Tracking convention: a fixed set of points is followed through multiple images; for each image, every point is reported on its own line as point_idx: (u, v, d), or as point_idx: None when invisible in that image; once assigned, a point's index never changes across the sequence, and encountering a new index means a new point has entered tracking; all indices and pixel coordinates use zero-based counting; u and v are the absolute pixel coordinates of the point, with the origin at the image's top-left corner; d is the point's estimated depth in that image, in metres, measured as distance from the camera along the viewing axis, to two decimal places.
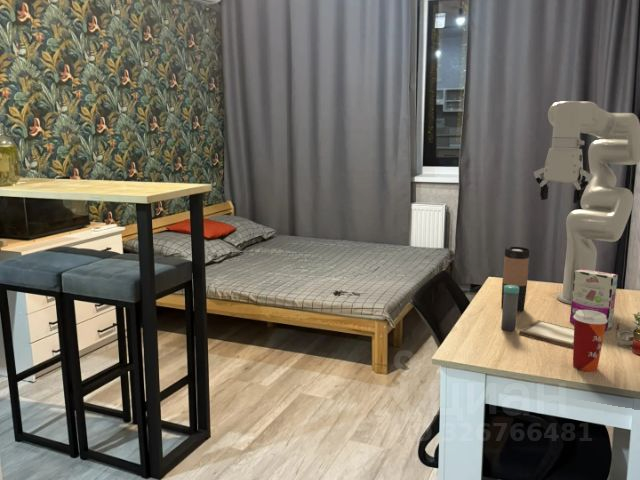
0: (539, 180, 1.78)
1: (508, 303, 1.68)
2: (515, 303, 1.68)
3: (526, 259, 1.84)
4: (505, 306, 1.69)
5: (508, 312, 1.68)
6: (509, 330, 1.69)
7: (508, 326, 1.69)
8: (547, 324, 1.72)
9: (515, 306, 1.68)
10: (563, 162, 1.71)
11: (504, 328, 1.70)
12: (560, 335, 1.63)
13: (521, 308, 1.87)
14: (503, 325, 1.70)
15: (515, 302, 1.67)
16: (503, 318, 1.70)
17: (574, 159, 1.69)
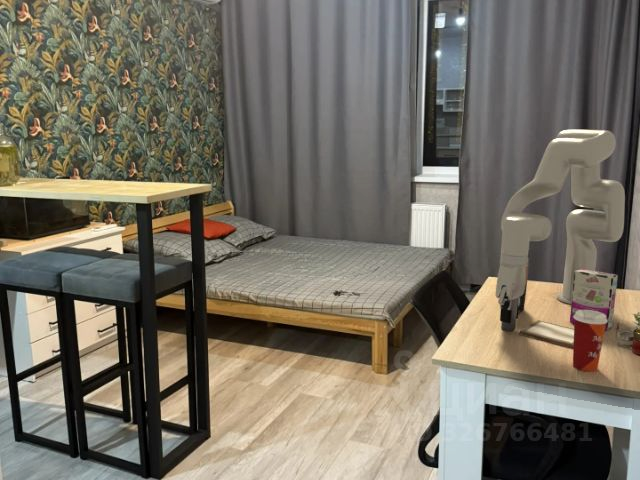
0: (507, 304, 1.66)
1: None
2: (515, 303, 1.68)
3: None
4: None
5: None
6: (509, 330, 1.69)
7: (508, 326, 1.69)
8: (547, 324, 1.72)
9: (515, 306, 1.68)
10: (521, 278, 1.67)
11: (504, 328, 1.70)
12: (560, 335, 1.63)
13: (521, 308, 1.87)
14: (503, 325, 1.70)
15: (515, 302, 1.67)
16: None
17: (525, 273, 1.69)
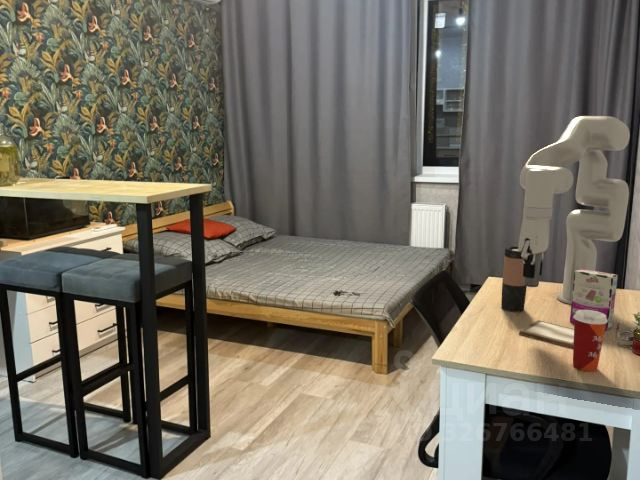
0: (530, 259, 1.62)
1: None
2: (538, 257, 1.63)
3: None
4: None
5: None
6: (532, 286, 1.65)
7: (531, 281, 1.64)
8: (547, 324, 1.72)
9: (538, 261, 1.63)
10: (545, 231, 1.62)
11: (527, 284, 1.65)
12: (560, 335, 1.63)
13: (521, 308, 1.87)
14: (526, 281, 1.66)
15: (538, 256, 1.63)
16: None
17: (549, 227, 1.65)
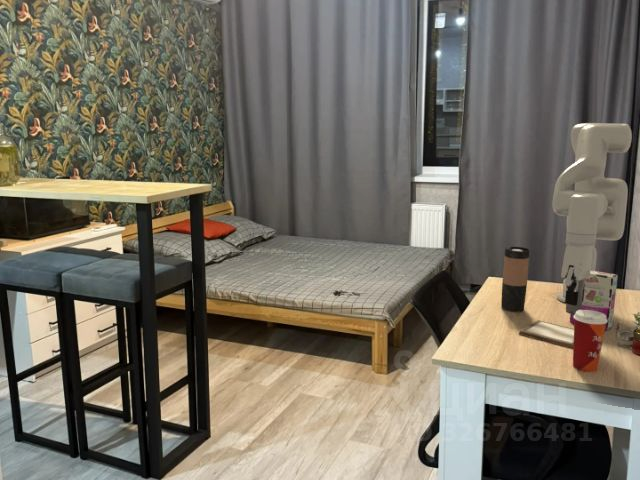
0: (574, 286, 1.59)
1: (574, 284, 1.61)
2: (581, 284, 1.61)
3: (526, 259, 1.84)
4: None
5: None
6: None
7: (574, 309, 1.62)
8: (547, 324, 1.72)
9: (581, 287, 1.61)
10: (588, 258, 1.60)
11: (569, 311, 1.63)
12: (560, 335, 1.63)
13: (521, 308, 1.87)
14: (568, 308, 1.63)
15: (581, 283, 1.60)
16: None
17: (591, 253, 1.62)
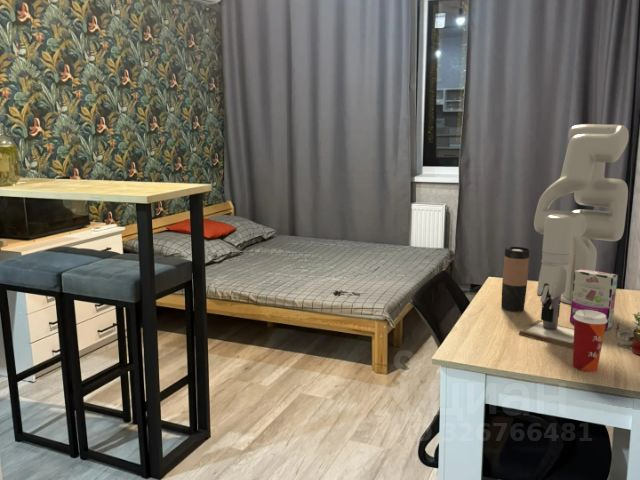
0: (549, 303, 1.65)
1: None
2: (557, 300, 1.66)
3: (526, 259, 1.84)
4: None
5: None
6: (551, 328, 1.68)
7: (551, 324, 1.67)
8: None
9: (557, 303, 1.66)
10: (563, 276, 1.66)
11: (546, 326, 1.68)
12: (560, 335, 1.63)
13: (521, 308, 1.87)
14: (545, 323, 1.68)
15: (557, 299, 1.66)
16: None
17: (566, 271, 1.68)
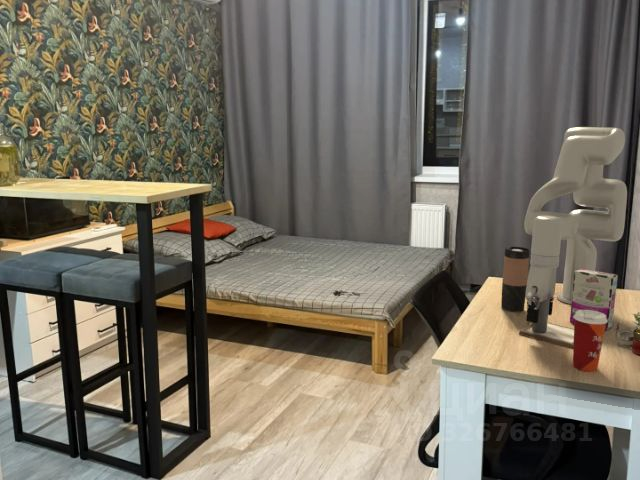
0: (534, 304, 1.60)
1: (540, 304, 1.63)
2: (547, 304, 1.63)
3: (526, 259, 1.84)
4: None
5: (540, 313, 1.64)
6: (540, 332, 1.65)
7: (540, 328, 1.64)
8: (547, 324, 1.72)
9: (547, 307, 1.63)
10: (552, 278, 1.63)
11: (535, 330, 1.65)
12: (560, 335, 1.63)
13: (521, 308, 1.87)
14: (534, 327, 1.66)
15: (547, 303, 1.63)
16: None
17: None
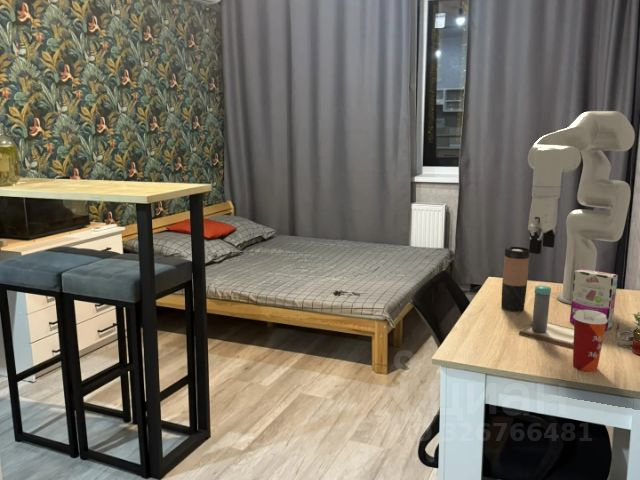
0: (537, 234, 1.62)
1: (539, 304, 1.63)
2: (547, 304, 1.63)
3: (526, 259, 1.84)
4: (536, 307, 1.64)
5: (540, 313, 1.64)
6: (540, 332, 1.65)
7: (540, 328, 1.64)
8: (547, 324, 1.72)
9: (547, 307, 1.63)
10: (553, 210, 1.65)
11: (535, 330, 1.65)
12: (560, 335, 1.63)
13: (521, 308, 1.87)
14: (534, 327, 1.66)
15: (547, 303, 1.63)
16: (534, 320, 1.65)
17: (557, 205, 1.67)
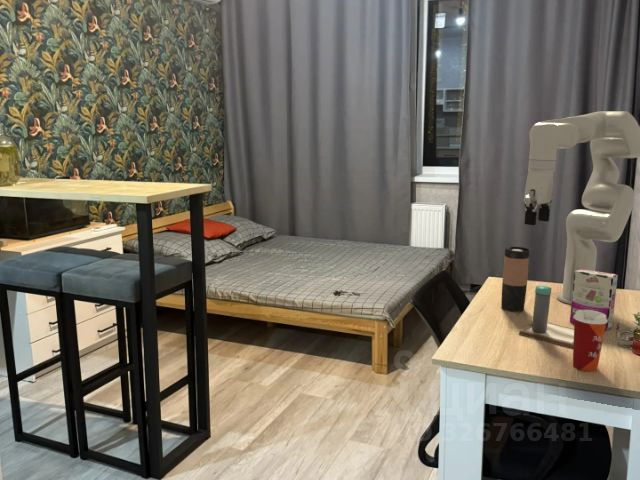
0: (532, 206, 1.69)
1: (540, 304, 1.63)
2: (547, 304, 1.63)
3: (526, 259, 1.84)
4: (536, 307, 1.64)
5: (540, 313, 1.64)
6: (540, 332, 1.65)
7: (540, 328, 1.64)
8: (547, 324, 1.72)
9: (547, 307, 1.63)
10: (549, 183, 1.72)
11: (535, 330, 1.65)
12: (560, 335, 1.63)
13: (521, 308, 1.87)
14: (534, 327, 1.65)
15: (547, 303, 1.63)
16: (534, 319, 1.65)
17: (552, 180, 1.74)
